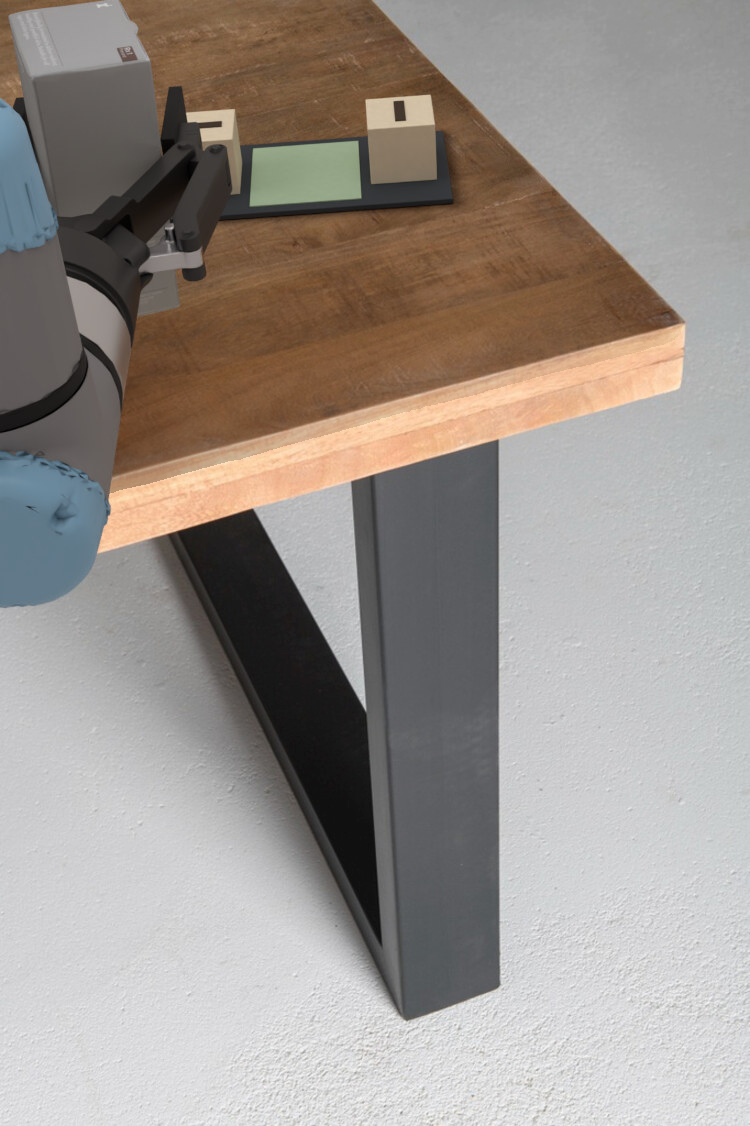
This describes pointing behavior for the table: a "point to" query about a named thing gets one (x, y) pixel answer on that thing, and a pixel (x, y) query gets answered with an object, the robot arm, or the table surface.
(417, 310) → the table surface
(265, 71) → the table surface
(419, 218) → the table surface
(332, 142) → the dark base board
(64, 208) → the cosmetic box
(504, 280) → the table surface
